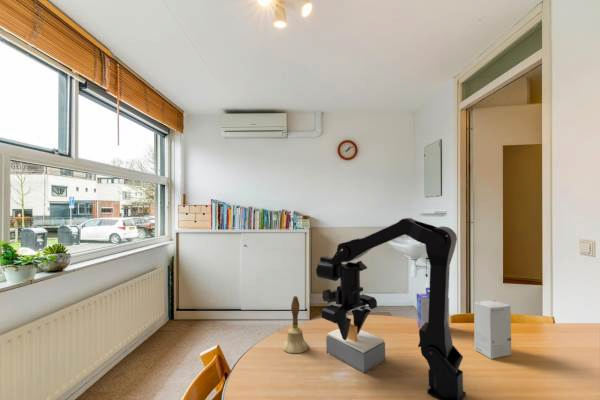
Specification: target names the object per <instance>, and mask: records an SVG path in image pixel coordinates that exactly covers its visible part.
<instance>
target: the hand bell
mask: <svg viewBox="0 0 600 400" xmlns="http://www.w3.org/2000/svg"><path fill="white" fill-rule="evenodd" d="M290 309H291V310H290V311H291V314H292V325H291V327H290V328H288V332H287V336H286V340H285V341H284V342H283V344H282V347H281V348H282V350H283V351H284V352H286V353H288V354H301V353H305V352H307V351H308V349H309V344H308V343H307V341H305V339H304V335H303V329H302V328H300V327H298V326H299V323H298V322H299V321H298V318H299V314H300V313H299V311H300V301H299V297H298V296H297V295H294V296H293V297H292V301H291V306H290Z"/></svg>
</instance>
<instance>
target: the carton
mask: <svg viewBox="0 0 600 400" xmlns="http://www.w3.org/2000/svg"><path fill="white" fill-rule="evenodd" d="M325 342H326V343H325V345H326V354H328V353H329V354H328V355H330V356H332V357H334V358H335V359H337V360H339V361H341V362H342V363H344V364H346V365H348V366H350V367H352V368H353V369H356V370H357V371H359V372H360V373H363V374H366V373H367V372H368V371H371V370H372V369H374V368H375V367H376V366H378V365H379V364H381V363H383V362H384V361H386V342H385V341H384V342H382V343H381V344H379V345H377V346H375V347H374V348H372V349H370V350H368V351H366V352H365V353H362V352H360V351H358V350H356V349H354V348H352V347H350V346H348V345H346V344H344V343H342V342H340V341H338V340H336V339H334V338H332V337H330V336H328V335H326V340H325Z"/></svg>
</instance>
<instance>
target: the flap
mask: <svg viewBox="0 0 600 400" xmlns="http://www.w3.org/2000/svg"><path fill="white" fill-rule="evenodd" d="M326 336H330V337H332V338H334V339H336V340H338V341H340V342H342V343H344V344H346V345H348V346H350V347H352V348H354V349H356V350H358V351H360V352H362V353H365V352H366V351H368V350H370V349H372V348H374V347H375V346H377V345H379V344H381V343H382V342H385V339H384V338H382V337H379V336H376V335H374V334H372V333H370V332H367V331H365V330H362V329H361V330H360V332H359V334H357V326H355V325H354V324H352V323H350V327H349V332H348V336H347V340H343V338H342V335H341V333H340V330H339V327H338V328H336V329H335V330H331V331H330V332H327V335H326Z"/></svg>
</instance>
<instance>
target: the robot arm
mask: <svg viewBox="0 0 600 400" xmlns="http://www.w3.org/2000/svg"><path fill="white" fill-rule="evenodd" d="M403 236H408V237H409V238H412V239H413V240H414V241H416V242H419V243H421V244H423V245H425V251H426V255H427V259H428V262H429V265H430V266H429V267H430V268H429V288H430V289H429V290H428V292H429V316H428V323H427V322H425V324H424V325H423V326H422V327H421V328H420V329H419V330H418V336H419V343H418V345H417V347H418V348H420V353H421V356H422V357H423V358H424V359H425V360H426V362H427V364H428V368H429V369H428V370H427V372H428V387H429V388H428V389H427V390H426V391H427V392H426V393H427V394H429V395H430V396H432V397H434V398H436V399H438V400H464V398H465V397H466V395H467V393H466V391H464V378H463V377H464V374H463V373H464V371H463V370H461V369H460V366H461V363H462V361H463V360H464V359H463V358H464V357H463V356H464V355H462V354H461V352H459V350H458V349H457V348H456V347H455V346H454V345H453V339H452V331H451V329H450V324H449V325H448V321H447V320H448V298H449V290H450V268H451V267H450V266H451V262H452V260H453V259H452V258H453V257H454V253H455V249H456V245H457V241H458V238H457V237H458V236H457V234H456V232H455V231H454V230H453V229H452V228H450V227H449V226H439V227H438V226H435V225H433V224H429V223H425V222H421V221H420V220H419V221H418V220H416V219H414V218H412V217H406V218H401V219H400V220H398V221H396V222H395V223H392V224H390V225H388V226H385V227H383V228H380V229H379V230H377V231H374V232H372V233H370V234H367V235H366V236H364V237H359V238H355V239H350V240H346V241H341V242H340V243H339V244H338V245H337V248H336V252H335V253H334V255H333V256H332V257H328V256H327V255H326V256H324V255H323V256H320V258H319V260H320V261H319V262H318V263H317V266H316V269H315V272H316V276H317V277H318V279H323V280H328V281H333V282H337V281H338V280H339V281H340V283H339V284H340V285H338V286H337V287H336V289H334V290H331V289H330V288H329V289H328V288H327V289H325V290H322V296H321V297H322V300H323V301H324V302H327V304H331V303H335V304H336V305H334V304H331V305H328V306H325V307H323V308H322V309H321V318H322V319H324V320H326V321H328V322H331V323H333V324H336V325H337V326H338V328H339V330H340V333H341V335H342V338H343V340H347V336H348V332H349V327H350V324H352V319H351V318H349V314H348V313H349V312H351V313H352V314H353V317H352V318H353V325H355V326H357V334H359V332H360V330H362V328H363V325H364V323H365V321H366V319H367V318H368V316H369V314H370V313H371V310H373V309H376V308H377V307H378V300H377V299H376V298H375V297H374V296H370V295H367V294H363V293H361V292H364V287H363V286H361V275H360V274H361V272H362V271H364V270H367V269H368V266H367V265H366V264H365V263H364V262H363V261H362V260H358V259H360V258H362V256H364V255H366V254H367V253H368V252H369V251H371V250H372V249H374V248H377V247H379V246H381V245H383V244H386V243H388V242H392V241H393V240H395V239H398V238H400V237H403ZM354 260H358V261H357V262H353V261H354ZM337 305H338V306H337ZM367 305H368V307H367ZM368 308H369V309H368Z"/></svg>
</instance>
